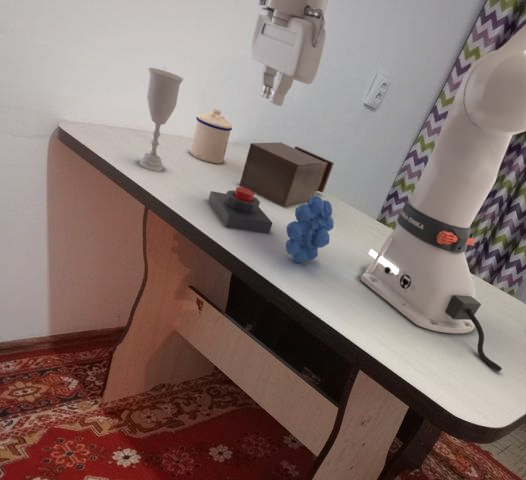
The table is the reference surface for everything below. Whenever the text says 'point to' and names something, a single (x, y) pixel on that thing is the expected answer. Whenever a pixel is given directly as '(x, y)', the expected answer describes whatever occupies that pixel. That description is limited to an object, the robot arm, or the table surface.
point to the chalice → (160, 109)
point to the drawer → (324, 171)
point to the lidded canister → (211, 137)
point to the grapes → (309, 229)
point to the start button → (244, 194)
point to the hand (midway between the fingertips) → (270, 100)
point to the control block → (239, 212)
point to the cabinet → (280, 173)
